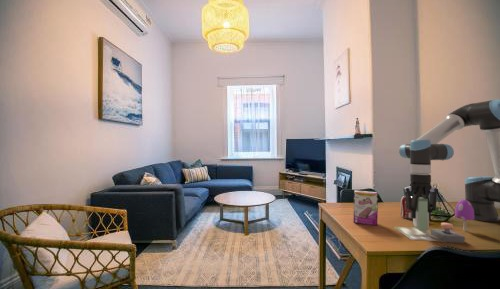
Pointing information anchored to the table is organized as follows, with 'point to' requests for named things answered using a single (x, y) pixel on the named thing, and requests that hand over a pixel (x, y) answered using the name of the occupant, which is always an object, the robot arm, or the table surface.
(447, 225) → the button cap
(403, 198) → the soda can
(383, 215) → the table surface
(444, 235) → the button housing
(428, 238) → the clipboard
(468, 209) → the toy
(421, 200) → the pale green block
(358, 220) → the candy bar box
